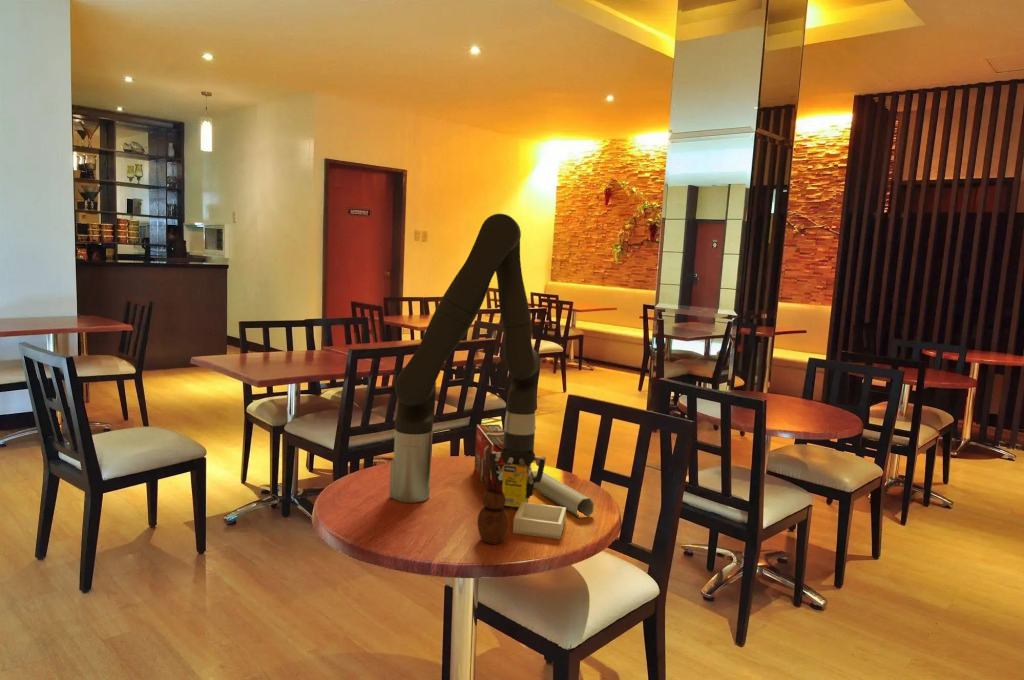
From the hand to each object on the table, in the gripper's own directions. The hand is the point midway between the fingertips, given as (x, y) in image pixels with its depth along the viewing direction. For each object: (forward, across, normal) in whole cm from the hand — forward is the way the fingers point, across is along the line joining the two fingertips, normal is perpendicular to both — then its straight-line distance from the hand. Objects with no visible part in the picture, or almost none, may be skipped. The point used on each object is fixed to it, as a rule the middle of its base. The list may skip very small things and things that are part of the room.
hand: (515, 495), depth 172 cm
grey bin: (+3, +8, -12) cm, 14 cm away
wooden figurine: (+3, -1, -22) cm, 23 cm away
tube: (+3, +10, +8) cm, 13 cm away
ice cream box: (+3, -9, +16) cm, 19 cm away
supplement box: (+3, 0, 0) cm, 3 cm away
